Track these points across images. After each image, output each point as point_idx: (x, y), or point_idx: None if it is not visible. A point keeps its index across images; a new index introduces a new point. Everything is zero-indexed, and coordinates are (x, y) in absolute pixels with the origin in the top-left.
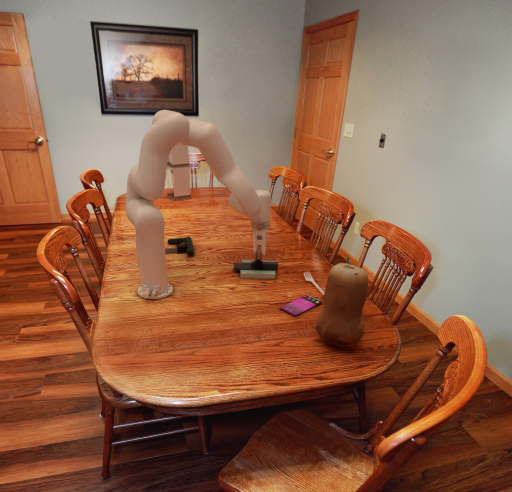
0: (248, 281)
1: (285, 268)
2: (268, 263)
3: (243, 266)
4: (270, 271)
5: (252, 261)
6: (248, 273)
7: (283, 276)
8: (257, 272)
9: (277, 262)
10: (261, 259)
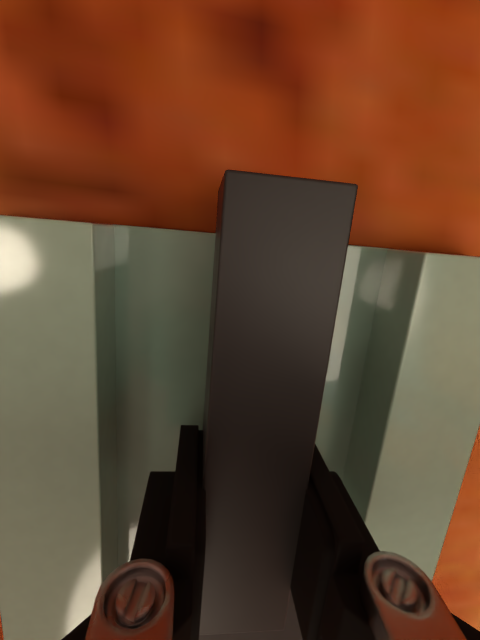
0: (461, 516)
1: (92, 23)
2: (305, 382)
3: (243, 635)
4: (423, 327)
5: (215, 620)
6: (431, 572)
7: (395, 123)
8: (428, 489)
9: (252, 181)
10: (445, 616)
